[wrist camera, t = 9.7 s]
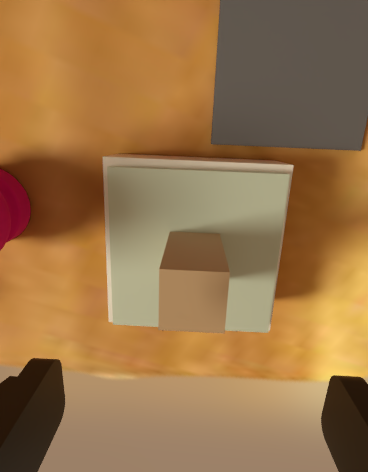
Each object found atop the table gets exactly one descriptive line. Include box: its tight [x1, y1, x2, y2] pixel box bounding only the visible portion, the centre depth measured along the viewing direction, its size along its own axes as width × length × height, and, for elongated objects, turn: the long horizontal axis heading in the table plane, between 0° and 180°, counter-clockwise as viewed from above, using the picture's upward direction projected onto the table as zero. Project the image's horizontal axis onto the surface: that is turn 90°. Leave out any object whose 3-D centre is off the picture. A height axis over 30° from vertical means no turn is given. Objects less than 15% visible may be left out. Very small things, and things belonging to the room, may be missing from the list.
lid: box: [107, 166, 290, 333], centre depth 18 cm, size 11×11×7 cm
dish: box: [103, 154, 294, 331], centre depth 23 cm, size 12×12×4 cm
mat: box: [211, 0, 368, 151], centre depth 21 cm, size 11×11×1 cm
